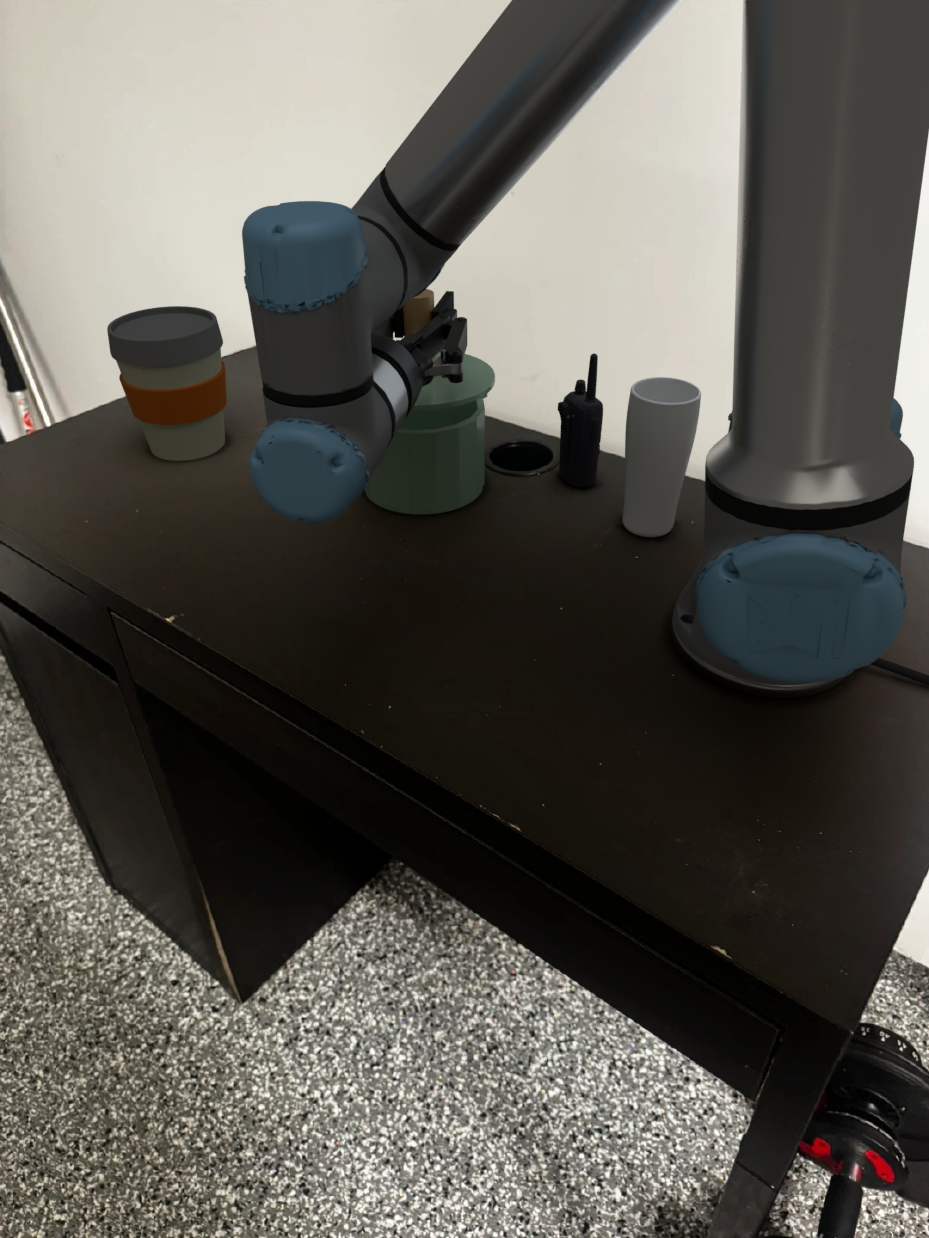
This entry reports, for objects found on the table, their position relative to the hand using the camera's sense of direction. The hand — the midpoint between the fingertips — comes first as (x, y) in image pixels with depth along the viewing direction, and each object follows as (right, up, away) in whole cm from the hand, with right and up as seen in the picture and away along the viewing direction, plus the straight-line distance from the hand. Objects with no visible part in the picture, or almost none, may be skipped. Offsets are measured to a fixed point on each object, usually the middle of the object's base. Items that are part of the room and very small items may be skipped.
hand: (432, 304), depth 89 cm
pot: (-1, -16, +11) cm, 20 cm away
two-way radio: (+16, -16, +12) cm, 25 cm away
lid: (-1, -8, -1) cm, 8 cm away
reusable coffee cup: (-31, -10, +20) cm, 38 cm away
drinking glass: (+22, -22, +4) cm, 32 cm away
